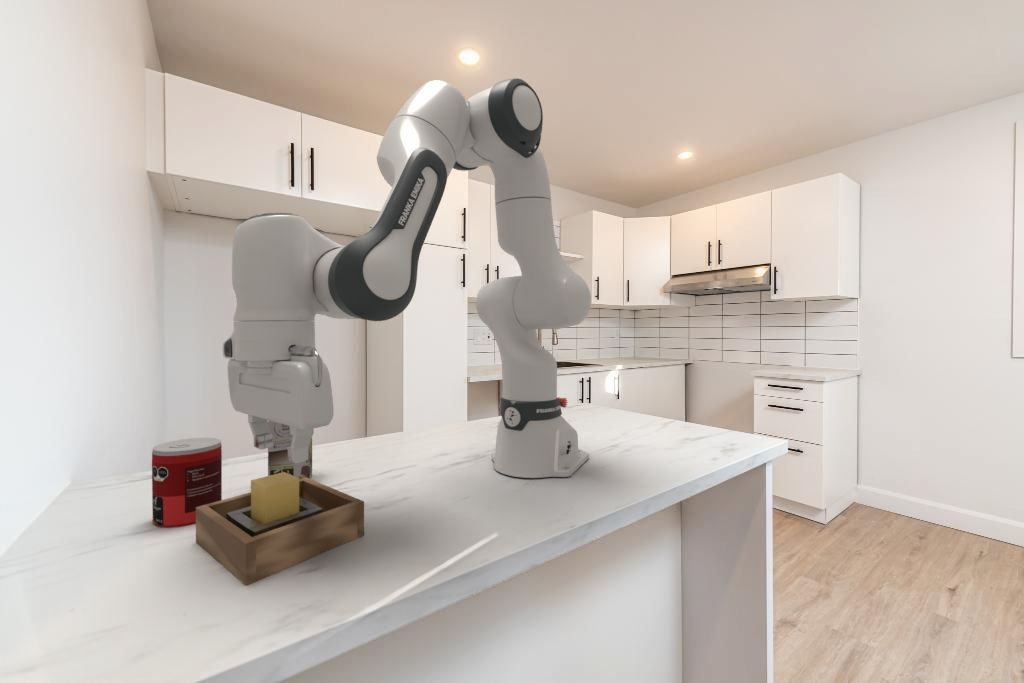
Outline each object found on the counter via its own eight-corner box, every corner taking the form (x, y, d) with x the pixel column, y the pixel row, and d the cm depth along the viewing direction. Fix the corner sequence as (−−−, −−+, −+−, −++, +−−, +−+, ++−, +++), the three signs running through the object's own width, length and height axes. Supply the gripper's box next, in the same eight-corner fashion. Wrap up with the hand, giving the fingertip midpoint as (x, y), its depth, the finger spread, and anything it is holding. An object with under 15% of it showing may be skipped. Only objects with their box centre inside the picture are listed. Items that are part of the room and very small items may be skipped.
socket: (292, 522, 59) (292, 493, 58) (323, 539, 54) (323, 508, 54) (225, 545, 52) (225, 513, 52) (254, 567, 47) (253, 532, 47)
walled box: (306, 510, 64) (306, 477, 64) (364, 539, 55) (364, 501, 55) (195, 546, 53) (195, 507, 53) (245, 591, 44) (245, 543, 44)
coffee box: (309, 490, 72) (309, 396, 72) (266, 495, 70) (266, 398, 69) (313, 474, 80) (313, 390, 80) (275, 478, 78) (275, 391, 78)
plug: (284, 532, 56) (284, 472, 55) (299, 541, 53) (299, 478, 53) (251, 544, 52) (251, 480, 52) (265, 554, 50) (265, 487, 50)
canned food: (165, 513, 63) (165, 439, 62) (228, 505, 65) (228, 435, 65) (141, 536, 55) (140, 453, 55) (213, 527, 58) (212, 448, 58)
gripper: (346, 345, 49) (349, 462, 49) (267, 342, 61) (270, 436, 62) (290, 348, 44) (294, 478, 44) (217, 344, 56) (220, 446, 57)
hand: (280, 454), depth 53 cm, fingers open, 8 cm apart
